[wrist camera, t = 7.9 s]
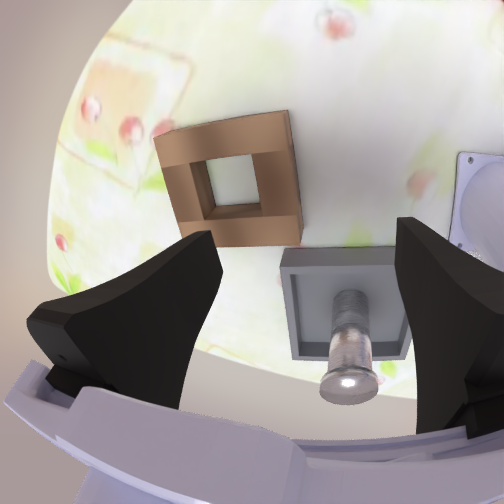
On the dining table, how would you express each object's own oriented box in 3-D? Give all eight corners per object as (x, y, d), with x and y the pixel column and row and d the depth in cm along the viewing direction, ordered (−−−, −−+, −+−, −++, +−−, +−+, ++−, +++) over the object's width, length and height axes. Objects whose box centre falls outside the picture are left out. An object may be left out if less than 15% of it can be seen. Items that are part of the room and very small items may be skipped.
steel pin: (370, 282, 22) (378, 373, 15) (373, 315, 24) (378, 402, 17) (324, 288, 24) (314, 378, 17) (331, 321, 26) (324, 406, 18)
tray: (422, 246, 20) (430, 264, 18) (402, 340, 26) (404, 359, 24) (284, 248, 23) (279, 266, 21) (295, 341, 29) (292, 359, 27)
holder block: (287, 110, 17) (282, 113, 15) (303, 228, 22) (300, 245, 20) (170, 131, 20) (153, 137, 18) (197, 233, 25) (185, 248, 23)
